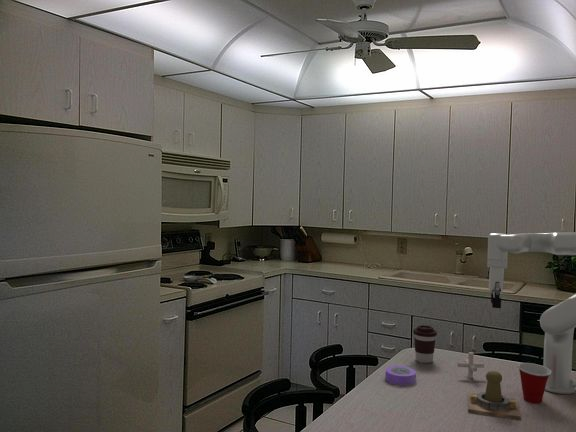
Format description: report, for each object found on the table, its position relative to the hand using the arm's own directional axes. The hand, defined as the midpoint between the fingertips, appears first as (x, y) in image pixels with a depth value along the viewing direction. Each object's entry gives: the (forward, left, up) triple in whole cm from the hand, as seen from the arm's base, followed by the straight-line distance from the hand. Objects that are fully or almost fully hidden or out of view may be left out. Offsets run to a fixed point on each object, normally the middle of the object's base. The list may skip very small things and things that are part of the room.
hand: (495, 305), depth 210 cm
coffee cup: (+28, -7, -28) cm, 41 cm away
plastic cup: (-12, +25, -28) cm, 40 cm away
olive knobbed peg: (+2, +36, -28) cm, 45 cm away
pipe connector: (+9, +8, -28) cm, 31 cm away
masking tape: (+35, +21, -29) cm, 50 cm away
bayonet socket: (+2, +36, -28) cm, 46 cm away
